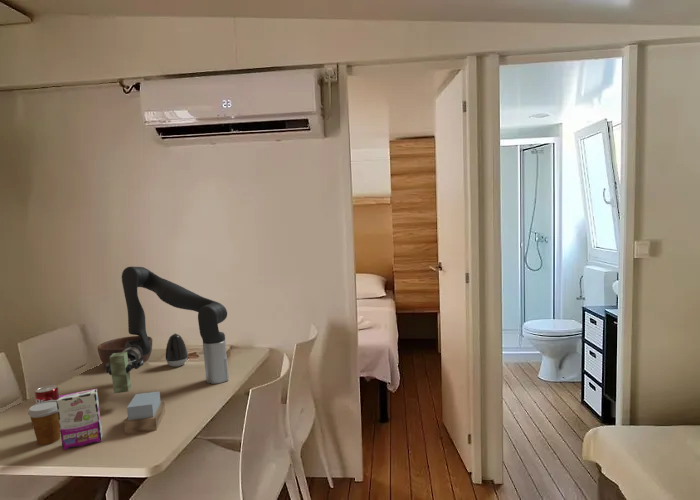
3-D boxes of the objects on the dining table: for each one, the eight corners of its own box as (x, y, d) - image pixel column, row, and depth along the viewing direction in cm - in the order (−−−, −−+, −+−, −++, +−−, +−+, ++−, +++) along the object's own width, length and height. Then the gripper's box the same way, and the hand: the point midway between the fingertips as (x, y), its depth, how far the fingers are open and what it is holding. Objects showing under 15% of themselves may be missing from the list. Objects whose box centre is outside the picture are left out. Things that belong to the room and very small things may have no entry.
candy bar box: (103, 435, 159) (97, 387, 158) (101, 442, 155) (96, 392, 153) (64, 444, 155) (58, 394, 154) (62, 450, 150) (55, 400, 149)
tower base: (165, 413, 176) (164, 401, 176) (156, 431, 161) (155, 418, 161) (136, 416, 174) (135, 404, 174) (125, 435, 159) (123, 422, 159)
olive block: (131, 386, 186) (127, 351, 184) (128, 391, 181) (123, 355, 180) (117, 388, 185) (112, 353, 183) (113, 393, 180) (109, 357, 179)
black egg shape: (188, 360, 238) (186, 330, 236) (188, 366, 228) (185, 335, 226) (166, 363, 235) (163, 333, 233) (165, 370, 225) (162, 338, 223)
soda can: (50, 425, 170) (46, 392, 169) (33, 424, 172) (29, 392, 170) (66, 416, 177) (62, 385, 176) (49, 415, 179) (45, 384, 178)
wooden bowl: (164, 357, 245) (162, 338, 244) (118, 373, 224) (116, 352, 223) (135, 352, 258) (133, 333, 257) (89, 366, 237) (86, 346, 236)
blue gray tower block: (160, 403, 174) (159, 391, 173) (153, 417, 162) (152, 404, 161) (137, 406, 172) (136, 394, 172) (128, 420, 160) (126, 407, 160)
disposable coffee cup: (35, 438, 161) (30, 403, 160) (67, 431, 164) (63, 397, 163) (28, 450, 152) (24, 414, 151) (63, 443, 156) (59, 407, 155)
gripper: (109, 351, 195) (96, 364, 178) (146, 347, 198) (138, 359, 181) (111, 369, 195) (99, 384, 179) (148, 364, 198) (140, 378, 182)
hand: (118, 371), depth 180 cm, fingers closed on olive block, 5 cm apart
